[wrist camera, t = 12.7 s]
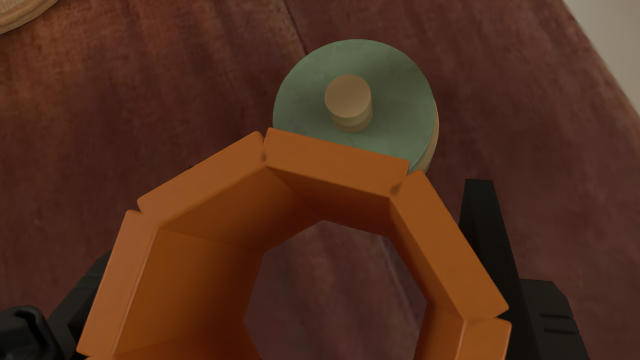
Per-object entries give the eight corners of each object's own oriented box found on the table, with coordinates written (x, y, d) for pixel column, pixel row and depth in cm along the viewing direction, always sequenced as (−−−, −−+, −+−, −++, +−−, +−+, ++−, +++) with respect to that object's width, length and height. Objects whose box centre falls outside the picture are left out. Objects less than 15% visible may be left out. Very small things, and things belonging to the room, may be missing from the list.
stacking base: (464, 164, 29) (488, 125, 22) (328, 241, 29) (308, 228, 22) (384, 45, 32) (382, -25, 25) (260, 116, 32) (222, 68, 25)
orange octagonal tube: (490, 360, 15) (598, 446, 7) (288, 473, 15) (181, 674, 7) (373, 166, 17) (358, 69, 9) (195, 268, 17) (34, 255, 9)
